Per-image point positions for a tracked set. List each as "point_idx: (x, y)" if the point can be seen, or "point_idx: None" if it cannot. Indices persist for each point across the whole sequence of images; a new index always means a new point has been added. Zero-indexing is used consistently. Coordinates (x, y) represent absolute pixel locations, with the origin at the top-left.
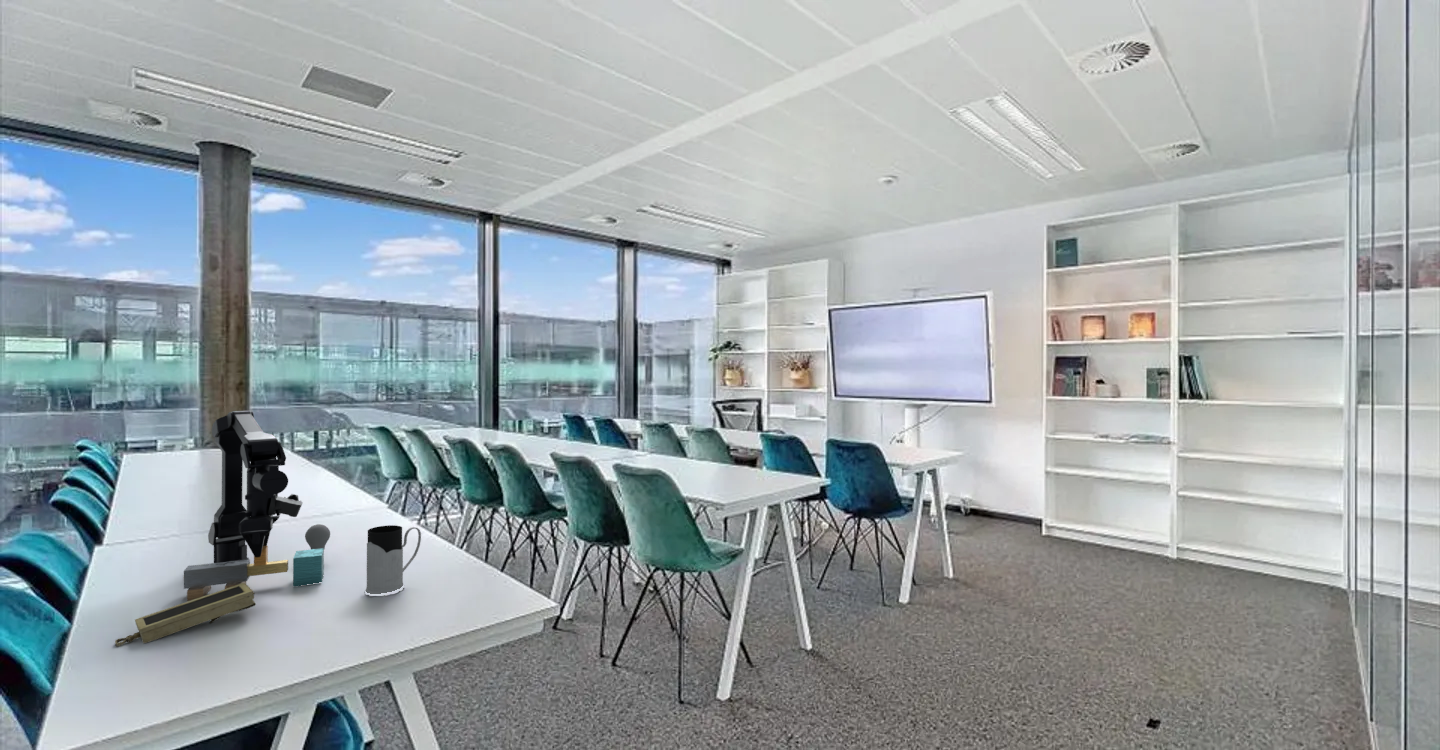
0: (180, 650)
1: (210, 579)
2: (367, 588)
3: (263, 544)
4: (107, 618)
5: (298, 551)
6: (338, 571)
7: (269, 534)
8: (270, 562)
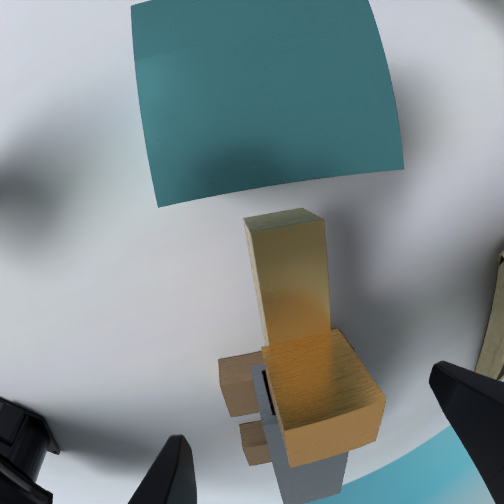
0: None
1: None
2: None
3: (186, 458)
4: (373, 461)
5: (179, 181)
6: (121, 34)
7: (137, 502)
8: (290, 325)
